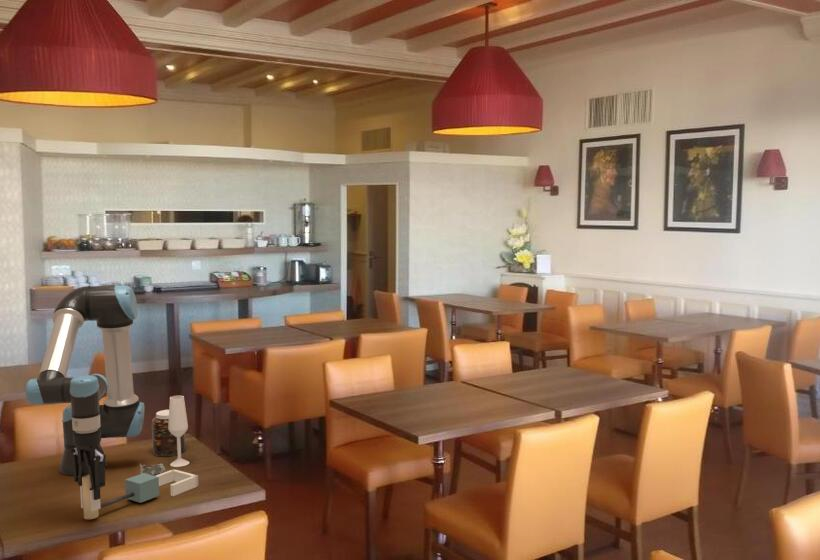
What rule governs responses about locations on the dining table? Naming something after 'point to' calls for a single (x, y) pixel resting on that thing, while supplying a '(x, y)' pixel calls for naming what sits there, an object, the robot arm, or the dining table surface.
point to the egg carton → (152, 469)
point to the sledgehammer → (136, 490)
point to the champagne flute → (178, 425)
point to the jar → (164, 436)
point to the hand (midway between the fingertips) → (90, 507)
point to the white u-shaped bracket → (178, 481)
